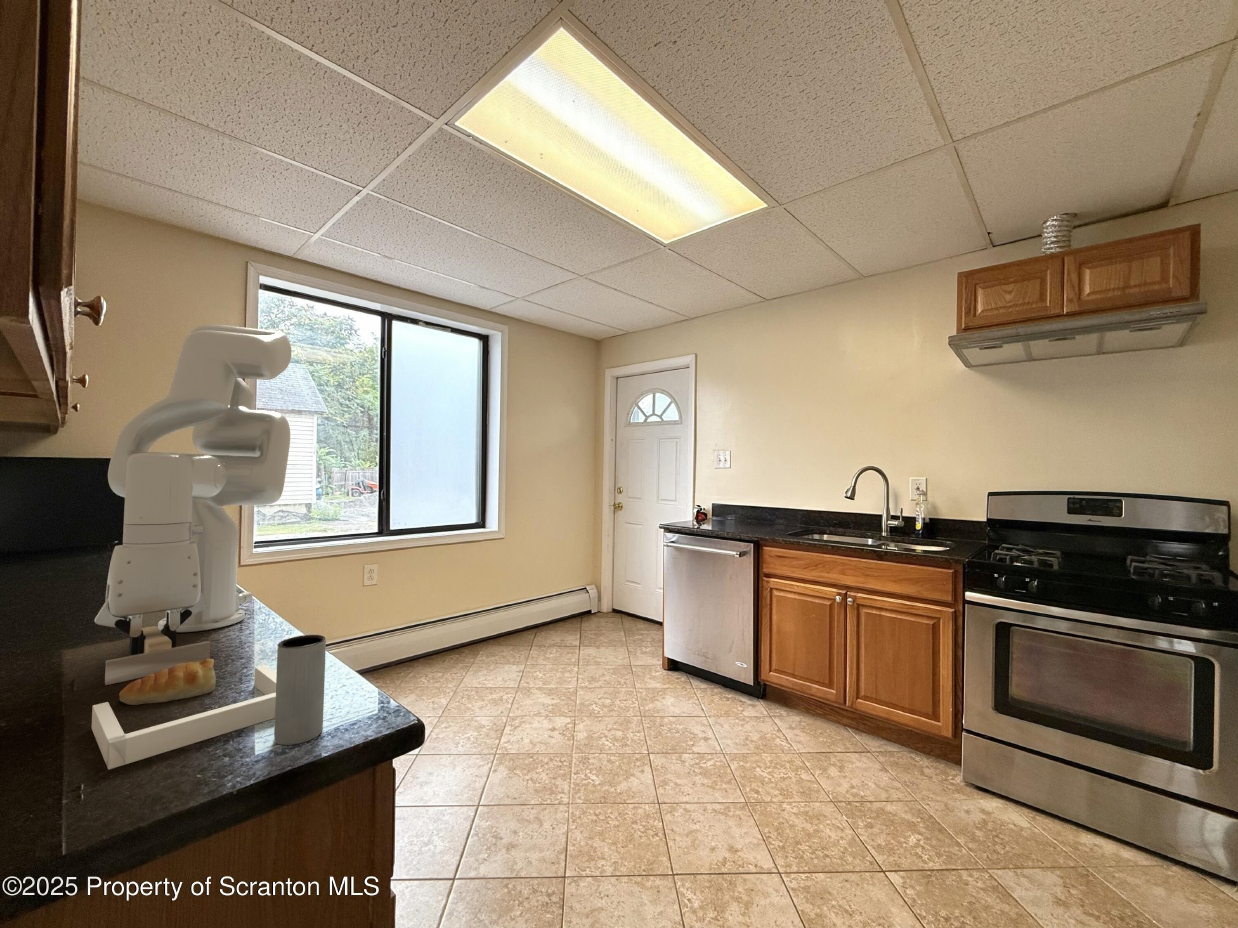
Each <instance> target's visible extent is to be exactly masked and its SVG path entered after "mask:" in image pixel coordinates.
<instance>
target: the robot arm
mask: <svg viewBox="0 0 1238 928" xmlns="http://www.w3.org/2000/svg"><path fill="white" fill-rule="evenodd" d="M291 359H292V346H291V342H290V340H289V339H288V337H287V336H286V334H284V333H282V332H280V331H275V330H268V329H259V328H250V327H242V326H233V325H226V324H225V325H224V324H203V325H199V326H195V327H194V328H193V329H192V330H191V331H190V334H188V335H187V336H186V337H185V339H184V340H183V342H182V346H181V350H180V353H179V357H178V360H177V364H176V367H175V371H174V375H173V377H172V378H173V379H172V382H171V384H170V389H169V392H168V394H167V396H165V397H164V398H161V399H160V400H159V401H157V402H155V403H153V404H151V405H149V406H148V407H147V408H144V409H143V410H142V411H141V412H139V413H138V414H137V415H136V416H134V417H133V418H132V419H131V420H129V422H127V423H126V424H125V425H124V426H123V428H122V429H121V431H120V432H119V435H118V436H117V440H116V442H115V445H114V449H113V452H112V454H111V457H110V461H109V466H108V470H107V480H108V484H109V488H110V489H111V491H112V492H113V493H115V494H116V495H117V496H120V497H122V498H124V508H123V509H124V511H123V534H122V544H120V545H115V547H114V548H113V551H112V555H111V559H110V562H109V563H110V564H109V569H108V574H107V575H108V576H107V581H106V583H107V584H106V591H105V602H104V604H102V606H101V608H100V610H99V611H98V613H97V615H96V616H95V618H94V623H95V624H97V625H99V626H103V627H111V628H116V629H118V630H120V631H122V632H124V633H125V634H127V635H129V646H128V647H129V650H128V656H132V655H138V654H143V653H144V640H145V639H146V636H145V635H144V634H143V630H142V628H143V617H144V616H143V615H146V614H153V613H160V612H165V617H164V618H162V619H160V620H159V621H158V623H157V627H158V628H159V629H160V630H161V633H162V634H163V635H164V636H167V637H168V638H169V639H170V640H171V641H172V645H171V648H174V647H177V633H191V632H192V633H193V632H200V631H208V630H214V629H219V628H224V627H227V626H230V625H231V626H232V625H234V624H236V623H239V622H241V621H243V620H244V619H245V618H246V611H245V610H243V609H240V608H239V606H240V605H241V604H245V603H246V602H250V601H251V600H252V599H253V594H252V592H251V591H246V592H241V593H239V592H237V584H238V583H237V582H238V581H237V579H238V578H237V575H238V557H239V555H238V554H239V553H238V552H239V534H240V533H239V526H238V524H237V522H236V520H235V519H234V518H233V517H232V516H231V514H230V513H229V512H228V511H227V510H226V508H224V507H225V506H226V507H227V506H228V507H229V506H264V505H265V506H267V505H271V504H275V503H276V502H278V501H279V500H280V499H281V497H282V494H283V491H284V487H285V482H286V481H285V480H286V475H287V467H288V460H289V453H290V447H291V429H290V424H289V421H288V419H287V418H286V416H284V415H283V414H282V413H279V412H276V411H273V410H272V411H270V410H262V409H261V410H257V409H252V408H253V405H254V404H253V403H254V399H255V398H254V393H253V391H252V389H251V388H250V387H249V384H247V382H245V381H244V380H243V379H247V380H248V379H249V380H261V381H270V380H273V379H275V378H277V377H278V376H280V374H282V373H283V372H285V371H286V370H287V369H288V366H289V365H290V364H291V363H290V362H291ZM192 427H193V428H192ZM188 428H192V435H191V441H192V444H193V447H194V448H195V449H196V450H197V451H199V452H200V453H178V452H162V451H161V452H155V451H153V452H152V451H149V450H150V448H151V447H153V445H154V444H155V443H156V442H158V441H159V440H160V439H162V438H164V437H165V436H169V435H170V434H172V433H176V432H178V431H181V430H184V429H188ZM202 453H204V454H202ZM124 617H127V619H125V618H124Z"/></svg>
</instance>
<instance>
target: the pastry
mask: <svg viewBox="0 0 1238 928" xmlns="http://www.w3.org/2000/svg"><path fill="white" fill-rule="evenodd" d="M214 666H215V660H214V658H210V659H206V660H204V661H200V662H187V663H182V664H176V665H175V666H173V667H171V668H165V669H162V670H160V671H158V672H156V673H153V674H149V675H147V676H146V677H141V678H137V679H136V680H134V681H131V682H130V683H128V684H127V685H126V686H125V687H123V689H121V691H120V692H119V695H118V696H119V701H120V702H122V703H124V704H125V705H129V706H130V705H131V706H137V705H138V706H139V705H141V704H142V705H143V704H156V703H157V704H158V703H167V702H170V701H176V700H183V699H188V698H193V697H197V696H201V695H205V694H208V693H209V694H210V693H212V692H213V690H215V689H216V682H217V680H216V678H217V677H216V673H215V670H214Z"/></svg>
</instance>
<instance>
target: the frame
mask: <svg viewBox="0 0 1238 928" xmlns="http://www.w3.org/2000/svg"><path fill="white" fill-rule="evenodd" d="M276 676H277V671H275V670H274V669H272V668H270V666H268V665H266V664H262V665H258V666H255V667H254V678H253V681H254V682H253V687H255V688H256V689H257V690H258V691H260V692H261V693H262V694H263V695H262V696H258V697H255V698H250V699H246V700H244V701H240V702H237V703H232V704H229V705H225V706H222V707H219V708H214V709H212V710H208V711H205V712H200V713H197V714H193V715H190V716H186V717H182V718H179V719H175V720H171V721H168V722H165V723H160V724H156V725H153V726H150V727H146V728H143V729H139V730H135V731H132V732H129V733H125V732H124V730H123V728H122V726H121V725H120V723H119V721H118V719H117V717H116V714H115V713H114V710H113V709H112V707H111V706H110V703H109V702H108V701H106V702H102V703H101V702H100V703H98V704H94V705H92V712H91V730H92V732H93V735H94V738H95V741H96V743H97V745H98V749H99V750H100V752H101V756H102V758H103V760H104V762H105V764H106V767H107V770H112V769H115V768H118V767H122V766H124V765H128V764H130V763H134V762H137V761H141V760H144V759H147V758H150V757H153V756H156V755H160V754H163V753H167V752H170V751H172V750H176V749H179V748H183V747H186V746H189V745H192V744H195V743H198V742H201V741H205V740H208V739H211V738H214V737H217V736H221V735H224V734H228V733H231V732H234V731H237V730H241V729H244V728H246V727H251V726H253V725H256V724H260V723H263V722H265V721H269V720H273V719H275V702H276Z"/></svg>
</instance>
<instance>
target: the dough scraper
mask: <svg viewBox="0 0 1238 928" xmlns="http://www.w3.org/2000/svg"><path fill="white" fill-rule="evenodd" d="M142 630H143V634H144V635H145V636H146V639H145V640H144V653H143V654H138V655H132V656H129V655H128V656H124V657H118V658H113V659H108V660H105V672H104V685H105V686H107V685H108V686H109V685H112V684H116V683H118V684H119V683H122V682H127V681H130V680H131V681H132V680H135V679H136V680H137V679H141V678H144V677H146V676H147V675H149V674H153V673H156V672H158V671H160V670H162V669H165V668H171V667H173V666H175V665H176V664H182V663H187V662H200V661H204V660H206V659H211V642H210V641H209V640H207V641H201V642H197V643H191V644H186V645H185V644H184V645H180V646H176V647H174V648H171V645H172V641H171V640H170V639H169V638H168V637H167V636H164V635H163V634H162V633H161V630H160V629H159V628H158V625H152V626H151V625H150V626H145V627H142Z"/></svg>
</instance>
